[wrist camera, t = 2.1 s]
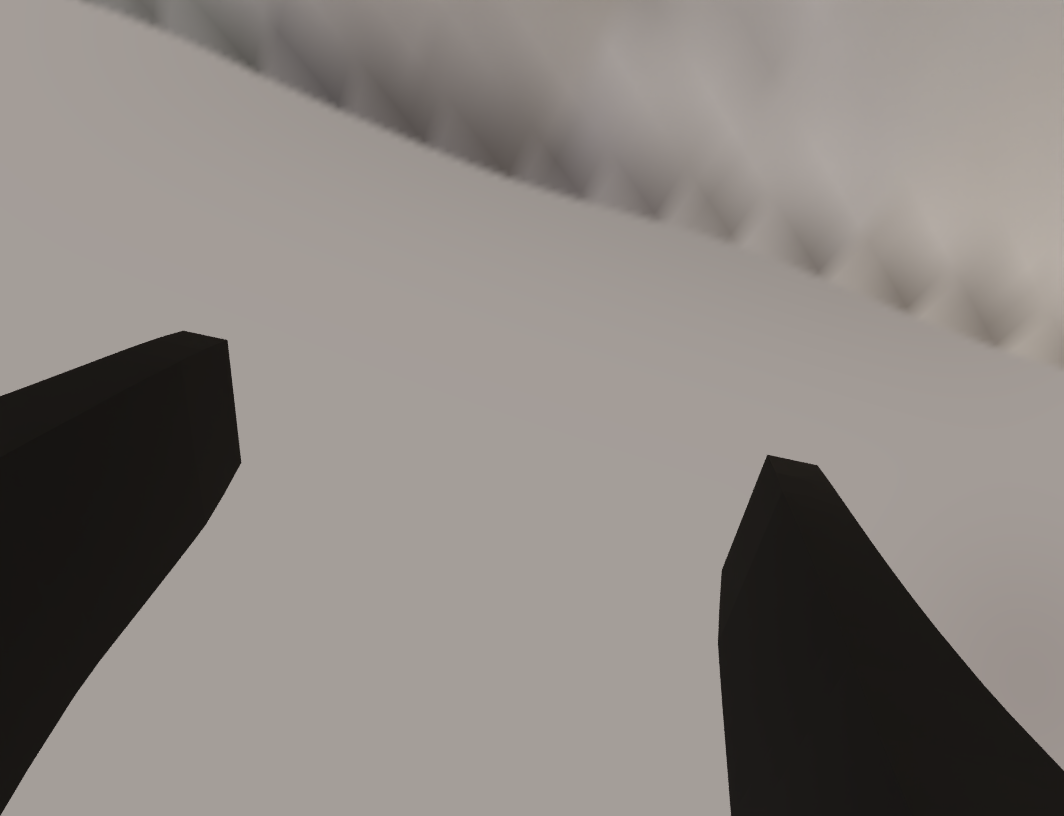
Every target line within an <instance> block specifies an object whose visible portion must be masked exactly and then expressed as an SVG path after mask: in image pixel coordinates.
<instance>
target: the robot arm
mask: <svg viewBox="0 0 1064 816" xmlns="http://www.w3.org/2000/svg"><path fill="white" fill-rule="evenodd" d="M240 464H241V456H240V448H239V440H238V431H237V421H236V413H235V403H234V394H233V386H232V377H231V368H230V360H229V350H228V341H227V340H224V339H220V338H215V337H210V336H205V335H201V334H196V333H191V332H187V331H181V332H178V333H174V334H170V335H167V336H164V337H160V338H157V339H154V340H151V341H148V342H145V343H142V344H139V345H137V346H134V347H131V348H128V349H126V350H123V351H120V352H118V353H115V354H113V355H110V356H107V357H104V358H102V359H99V360H96V361H94V362H91V363H89V364H86V365H83V366H80V367H78V368H75V369H73V370H70V371H67V372H65V373H62V374H59V375H57V376H54V377H51V378H49V379H46V380H43V381H40V382H38V383H35V384H33V385H30V386H27V387H24V388H22V389H19V390H16V391H14V392H11V393H8V394H5V395H2V396H0V815H1V813H2V812H3V810H4V808H5V807H6V805H7V803H8V802H9V800H10V798H11V797H12V795H13V793H14V792H15V790H16V788H17V787H18V785H19V783H20V782H21V780H22V778H23V777H24V775H25V773H26V771H27V770H28V768H29V767H30V765H31V764H32V762H33V760H34V759H35V757H36V756H37V754H38V753H39V751H40V749H41V748H42V746H43V744H44V743H45V741H46V740H47V738H48V737H49V735H50V734H51V732H52V730H53V729H54V727H55V726H56V724H57V723H58V721H59V719H60V718H61V716H62V715H63V713H64V711H65V710H66V708H67V707H68V705H69V704H70V702H71V700H72V699H73V697H74V696H75V694H76V693H77V692H78V690H79V689H80V687H81V686H82V685H83V683H84V682H85V680H86V679H87V678H88V676H89V675H90V674H91V672H92V671H93V669H94V668H95V666H96V665H97V664H98V662H99V661H100V660H101V659H102V657H103V656H104V655H105V653H106V652H107V651H108V649H109V648H110V647H111V646H112V644H113V643H114V642H115V641H116V639H117V638H118V636H120V634H121V633H122V632H123V630H124V629H125V628H126V627H127V625H128V624H129V623H130V622H131V620H132V619H133V618H134V617H135V615H136V614H137V613H138V611H139V610H140V609H141V608H142V606H143V605H144V604H145V603H146V601H147V600H148V599H149V598H150V596H151V595H152V593H153V592H154V591H155V590H156V589H157V587H158V586H159V585H160V584H161V582H162V581H163V580H164V578H165V577H166V576H167V575H168V573H169V572H170V571H171V569H172V568H173V567H174V566H175V564H176V563H177V562H178V560H179V559H180V558H181V556H182V555H183V554H184V553H185V551H186V550H187V549H188V547H189V546H190V545H191V544H192V542H193V541H194V540H195V538H196V537H197V536H198V534H199V533H200V531H201V530H202V529H203V528H204V526H205V525H206V523H207V522H208V520H209V518H210V517H211V515H212V513H213V512H214V510H215V508H216V507H217V505H218V503H219V502H220V500H221V498H222V497H223V495H224V493H225V491H226V489H227V488H228V486H229V484H230V482H231V480H232V478H233V477H234V474H235V473H236V471H237V469H238V468H239V466H240ZM718 649H719V664H720V678H721V692H722V706H723V718H724V731H725V744H726V756H727V769H728V782H729V794H730V806H731V816H1064V771H1063V770H1062V769H1061V768H1060V766H1059V765H1058V764H1057V763H1056V762H1055V761H1054V760H1053V759H1052V758H1051V757H1050V756H1049V755H1048V754H1047V753H1046V752H1045V751H1044V750H1043V749H1042V747H1041V746H1039V744H1038V743H1037V742H1035V740H1034V739H1033V738H1032V737H1031V736H1030V735H1029V734H1028V733H1027V732H1026V731H1025V730H1024V728H1022V726H1021V725H1019V723H1018V722H1017V721H1016V720H1015V719H1014V718H1013V717H1012V716H1011V715H1010V714H1009V713H1008V712H1007V711H1006V710H1005V708H1004V707H1003V706H1002V705H1001V704H1000V703H999V702H998V700H997V699H996V698H995V697H994V696H993V695H992V694H991V693H990V692H989V690H988V689H987V688H986V687H985V686H984V685H983V684H982V682H981V681H980V680H979V679H978V678H977V677H976V675H975V674H974V673H973V672H972V671H971V669H970V668H969V667H968V666H967V665H966V663H965V662H964V661H963V660H962V659H961V657H960V656H959V655H958V654H957V653H956V651H955V650H954V649H953V648H952V647H951V645H950V644H949V643H948V642H947V641H946V639H945V638H944V637H943V636H942V635H941V634H940V632H939V631H938V630H937V628H936V627H935V626H934V625H933V623H932V622H931V621H930V620H929V618H928V617H927V616H926V614H925V613H924V612H923V611H922V609H921V608H920V607H919V606H918V604H917V603H916V602H915V600H914V599H913V598H912V596H911V595H910V594H909V592H908V591H907V590H906V588H905V587H904V586H903V584H902V583H901V582H900V580H899V579H898V578H897V576H896V575H895V574H894V572H893V571H892V570H891V568H890V567H889V566H888V564H887V563H886V562H885V560H884V559H883V557H882V556H881V555H880V553H879V552H878V550H877V549H876V548H875V546H874V545H873V544H872V542H871V541H870V539H869V538H868V536H867V535H866V534H865V532H864V531H863V529H862V528H861V526H860V525H859V524H858V522H857V521H856V519H855V518H854V516H853V515H852V514H851V512H850V511H849V509H848V508H847V506H846V505H845V503H844V502H843V501H842V499H841V498H840V496H839V495H838V493H837V492H836V491H835V489H834V488H833V486H832V485H831V483H830V482H829V481H828V479H827V478H826V476H825V475H824V474H823V472H822V471H821V470H820V468H819V467H818V466H817V465H813V464H808V463H804V462H799V461H794V460H790V459H785V458H780V457H775V456H770V455H767V457H766V460H765V462H764V465H763V467H762V470H761V472H760V475H759V477H758V480H757V482H756V485H755V487H754V490H753V493H752V495H751V498H750V500H749V503H748V505H747V508H746V510H745V513H744V516H743V518H742V520H741V523H740V526H739V528H738V531H737V533H736V536H735V538H734V541H733V543H732V546H731V549H730V551H729V554H728V556H727V559H726V561H725V564H724V566H723V569H722V576H721V592H720V609H719V633H718Z"/></svg>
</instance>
